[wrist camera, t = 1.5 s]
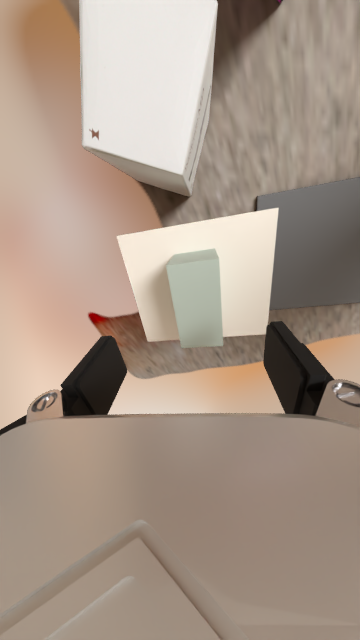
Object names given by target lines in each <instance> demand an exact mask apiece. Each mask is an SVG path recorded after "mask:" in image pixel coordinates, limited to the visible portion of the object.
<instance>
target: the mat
mask: <svg viewBox="0 0 360 640" xmlns="http://www.w3.org/2000/svg"><path fill="white" fill-rule="evenodd" d="M273 208H279V209H278V220H277V231H276V241H275V252H274V263H273V274H272V284H271V295H270V306H269V310H277V309H289V308H301V307H312V306H324V305H336V304H347V303H359V302H360V177H357V178H352V179H347V180H342V181H336V182H331V183H326V184H320V185H315V186H310V187H304V188H299V189H294V190H288V191H283V192H278V193H273V194H267V195H262V196H257V211H261V210H267V209H273Z"/></svg>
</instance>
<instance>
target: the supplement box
mask: <svg viewBox="0 0 360 640" xmlns="http://www.w3.org/2000/svg"><path fill="white" fill-rule="evenodd" d="M79 6H80V55H81V56H80V57H81V58H80V62H81V63H80V76H81V107H82V146H83V148H84V149H86V150H87V151H89V152H91V153H92V154H94V155H96V156H97V157H99V158H101V159H102V160H104V161H106V162H108V163H109V164H111V165H112V166H114V167H116V168H117V169H119V170H121V171H122V172H124V173H126V174H127V175H129V176H131V177H132V178H134V179H136V180H137V181H140V182H143V183H146V184H150V185H153V186H156V187H159V188H162V189H165V190H168V191H172V192H175V193H178V194H182V195H185V196H189V197H190V196H191V194H192V189H193V184H194V179H195V175H196V170H197V166H198V162H199V158H200V154H201V150H202V145H203V141H204V137H205V133H206V130H207V126H208V122H209V112H210V100H211V89H212V76H213V61H214V47H215V34H216V20H217V8H218V3H217V0H79Z"/></svg>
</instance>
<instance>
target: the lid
mask: <svg viewBox="0 0 360 640" xmlns="http://www.w3.org/2000/svg"><path fill="white" fill-rule="evenodd" d="M278 209H279V208H273V209H267V210H261V211H256V212H250V213H244V214H238V215H233V216H227V217H221V218H216V219H210V220H204V221H198V222H193V223H187V224H181V225H176V226H170V227H164V228H159V229H153V230H147V231H142V232H136V233H130V234H124V235H119V236H117V240H118V243H119V247H120V250H121V253H122V257H123V260H124V264H125V267H126V270H127V274H128V277H129V280H130V284H131V287H132V291H133V294H134V297H135V301H136V304H137V307H138V311H139V314H140V318H141V321H142V324H143V328H144V331H145V334H146V338H147V341H148V342H152V341H167V340H180V343H181V348H195V347H213V346H223V337H230V336H245V335H261V334H266V327H267V325H268V317H269V306H270V295H271V284H272V274H273V263H274V252H275V241H276V231H277V220H278Z"/></svg>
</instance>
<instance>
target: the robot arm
mask: <svg viewBox="0 0 360 640" xmlns="http://www.w3.org/2000/svg"><path fill="white" fill-rule="evenodd" d="M264 367H265V369H266V371H267V373H268V376H269V378H270V380H271V382H272V385H273V387H274V389H275V391H276V393H277V395H278V398H279V400H280V402H281V405H282V407H283V409H284V411H285V413H286V414H271V413H270V414H268V413H225V414H224V413H217V414H216V413H215V414H214V413H211V414H210V413H209V414H125V415H107V414H108V412H109V410H110V408H111V405H112V403H113V401H114V399H115V397H116V395H117V393H118V391H119V388H120V386H121V384H122V382H123V380H124V378H125V376H126V373H127V368H126V365H125V363H124V360H123V358H122V355H121V353H120V350H119V348H118V345H117V343H116V340H115V338H113V337H112V336H102V337H100V339H99V340H98V341H97V342H96V343H95V345H94V346H93V347H92V348H91V349H90V351H89V352H88V353H87V354H86V355H85V357H84V358H83V359H82V360H81V362H80V363H79V364H78V365H77V366H76V367H75V369H74V370H73V371H72V372H71V373H70V375H69V376H68V377H67V378H66V379H65V381H64V382H63V383H62V384H61V387H62V388H63V389H62V390H61V391H59V390H51V391H48V392H45V393H44V394H42V395H40V396H39V397H37V398H36V399H35V400H34V401H33V402H32V403H31V404H30V406H29V408H28V411H27V415H26V416H24V417H22V418H20V419H18V420H17V421H15V422H13V423H11V424H10V425H8V426H6V427H4V428H3V429H1V430H0V640H360V385H359V384H357V383H354V382H351V381H348V380H340V379H338V380H334V379H333V377H332V376H331V375H330V374H329V373H328V372H327V370H326V369H325V368H324V367H323V366H322V365H321V363H320V362H319V361H318V360H317V359H316V357H314V355H313V354H312V353H311V352H310V350H309V349H308V348H307V347H306V346H305V345H304V344H303V343H300V342H299V341H298V339H297V338H296V337H295V336H294V335H293V333H292V332H291V331H290V330H289V329H288V327H287V326H286V325H285V324H284V323H283V322H282V321H278V322H271V323H270V325H267V327H266V338H265V350H264Z"/></svg>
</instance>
